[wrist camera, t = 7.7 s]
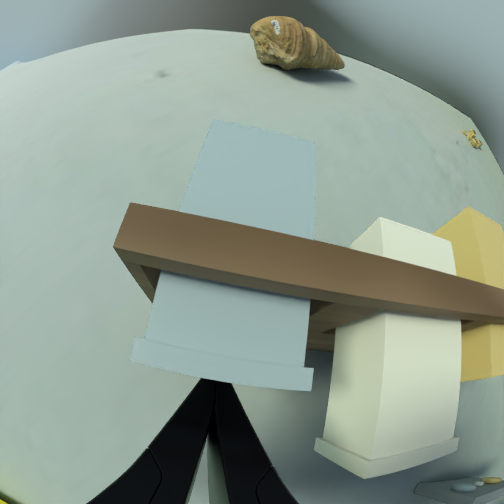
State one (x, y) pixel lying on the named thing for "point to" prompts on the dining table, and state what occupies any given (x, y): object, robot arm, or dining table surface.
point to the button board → (297, 271)
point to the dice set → (472, 136)
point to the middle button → (394, 372)
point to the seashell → (292, 45)
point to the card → (463, 490)
